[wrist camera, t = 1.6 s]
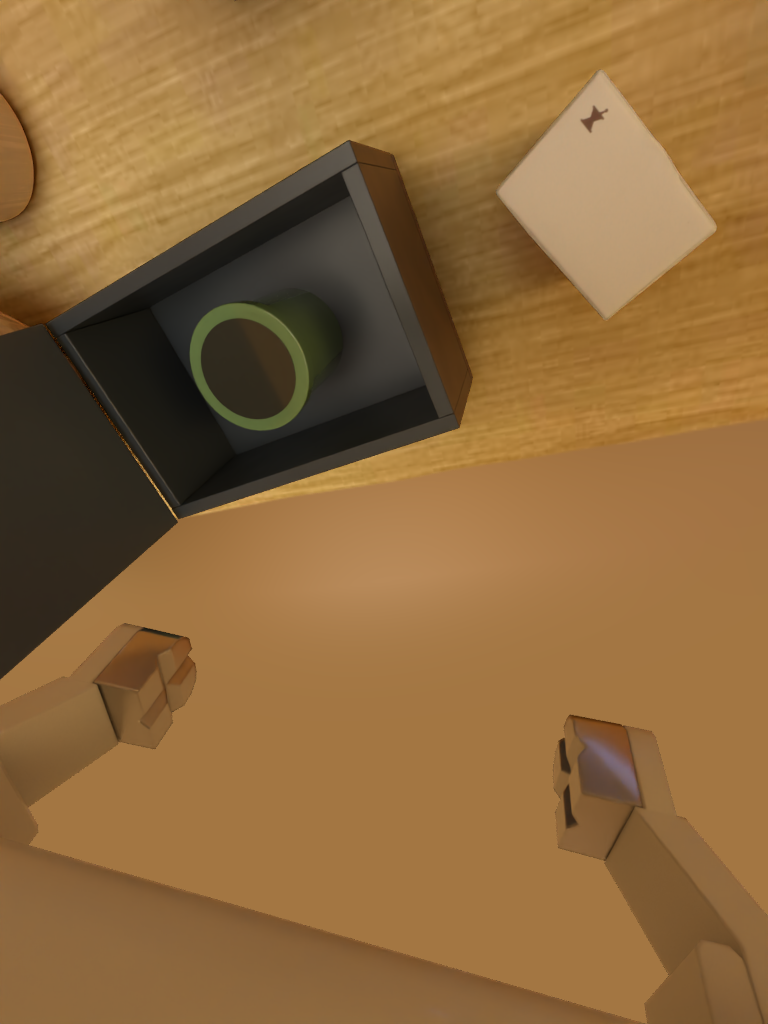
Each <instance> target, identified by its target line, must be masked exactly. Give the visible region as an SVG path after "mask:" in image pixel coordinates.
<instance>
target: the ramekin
mask: <svg viewBox="0 0 768 1024" xmlns="http://www.w3.org/2000/svg"><path fill="white" fill-rule="evenodd" d="M33 183H34V168H33V160H32V155H31V151H30V148H29V144H28V141H27V138H26V135H25V133H24V131H23V128H22V126H21V124H20V122H19V120H18V118H17V116H16V115H15V113H14V111H13V110H12V108H11V107H10V105H9V104H8V102H7V101H6V100H5V99H4V97H3V96H2V95H1V94H0V222H3V221H7V220H10V219H12V218H14V217H16V216H18V215H19V214H20V213H21V212H22V211H23V210H24V209H25V208H26V206H27V205H28V203H29V200H30V198H31V195H32V190H33Z"/></svg>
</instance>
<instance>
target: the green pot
mask: <svg viewBox="0 0 768 1024" xmlns="http://www.w3.org/2000/svg"><path fill="white" fill-rule="evenodd" d="M342 351H343V338H342V332H341V328H340V325H339V323H338V320H337V319H336V317H335V315H334V313H333V312H332V310H331V309H330V308H329V307H328V305H327V304H326V303H325V302H324V301H322V300H321V299H320V298H319V297H317V296H316V295H314V294H312V293H310V292H308V291H305V290H302V289H297V288H285V289H281V290H278V291H275V292H272V293H270V294H267V295H265V296H262V297H260V298H257V299H254V300H252V301H246V300H241V301H233V302H229V303H226V304H223V305H220V306H218V307H216V308H214V309H212V310H211V311H209V312H208V313H207V314H206V315H204V316H203V318H202V319H201V320H200V321H199V323H198V324H197V326H196V328H195V330H194V333H193V335H192V339H191V343H190V364H191V370H192V373H193V377H194V379H195V382H196V384H197V386H198V388H199V390H200V392H201V394H202V395H203V397H204V398H205V400H206V401H207V402H208V403H209V405H210V406H211V407H212V408H213V409H214V410H215V411H216V412H217V413H219V414H220V415H221V416H222V417H224V418H225V419H227V420H228V421H230V422H232V423H234V424H236V425H238V426H240V427H243V428H247V429H251V430H258V431H265V430H273V429H276V428H280V427H282V426H284V425H286V424H287V423H289V422H290V421H292V420H293V419H294V418H295V417H296V416H297V415H298V414H299V413H300V412H301V411H302V410H303V408H304V407H305V406H306V404H307V402H308V400H309V398H310V395H311V394H312V393H313V392H314V391H315V390H316V389H317V388H318V387H319V386H320V385H322V384H323V383H324V382H325V381H326V380H327V379H328V378H329V377H330V376H331V375H332V374H333V373H334V371H335V370H336V368H337V367H338V365H339V362H340V360H341V356H342Z"/></svg>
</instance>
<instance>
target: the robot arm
mask: <svg viewBox="0 0 768 1024" xmlns="http://www.w3.org/2000/svg"><path fill="white" fill-rule="evenodd" d="M191 649H192V647H191V644H190V640H189V638H187V637H183V636H179V635H175V634H170V633H166V632H161V631H157V630H153V629H148V628H145V627H140V626H135V625H130V624H126V623H124V624H122V625H120V626H118V627H116V628H115V629H114V630H113V631H112V632H111V634H110V635H109V636H108V637H107V638H106V639H105V640H104V641H103V642H102V643H101V644H100V645H99V646H98V647H97V648H96V649H95V650H94V651H93V653H92V654H91V655H90V656H89V657H88V658H87V659H86V660H85V661H84V662H83V663H82V664H81V665H80V666H79V667H78V669H77V670H76V671H75V672H74V673H73V674H72V675H71V676H70V677H69V678H66V677H61V678H59V679H56V680H54V681H52V682H50V683H48V684H46V685H44V686H42V687H40V688H37V689H35V690H33V691H31V692H29V693H27V694H25V695H23V696H20V697H18V698H16V699H14V700H12V701H10V702H7V703H6V704H3V705H1V706H0V1024H645V1023H641V1022H637V1021H634V1020H631V1019H627V1018H623V1017H620V1016H617V1015H613V1014H610V1013H606V1012H603V1011H600V1010H596V1009H593V1008H589V1007H586V1006H582V1005H579V1004H576V1003H572V1002H569V1001H565V1000H562V999H558V998H555V997H551V996H548V995H544V994H541V993H538V992H534V991H531V990H527V989H524V988H520V987H517V986H513V985H510V984H507V983H503V982H500V981H496V980H493V979H489V978H486V977H482V976H479V975H475V974H472V973H469V972H465V971H462V970H458V969H455V968H451V967H448V966H444V965H441V964H437V963H434V962H430V961H427V960H424V959H420V958H417V957H413V956H410V955H406V954H403V953H399V952H396V951H393V950H389V949H386V948H382V947H379V946H375V945H372V944H368V943H365V942H361V941H358V940H355V939H351V938H348V937H344V936H341V935H337V934H334V933H330V932H327V931H323V930H320V929H316V928H313V927H310V926H306V925H303V924H299V923H296V922H292V921H289V920H286V919H282V918H278V917H275V916H272V915H268V914H265V913H261V912H258V911H255V910H251V909H248V908H244V907H240V906H237V905H234V904H230V903H227V902H223V901H220V900H217V899H213V898H210V897H206V896H203V895H199V894H196V893H192V892H189V891H185V890H182V889H178V888H175V887H172V886H168V885H165V884H161V883H158V882H154V881H151V880H147V879H144V878H140V877H137V876H134V875H130V874H127V873H123V872H120V871H116V870H113V869H109V868H106V867H102V866H99V865H96V864H92V863H89V862H85V861H81V860H78V859H74V858H71V857H68V856H64V855H61V854H57V853H54V852H51V851H47V850H44V849H40V848H37V847H33V846H29V844H30V842H31V841H32V840H33V838H34V837H35V836H36V834H37V833H38V824H37V823H36V821H35V819H34V817H33V816H32V814H31V812H30V810H29V809H28V807H29V806H31V805H32V804H34V803H35V802H37V801H38V800H39V799H41V798H42V797H44V796H45V795H46V794H48V793H49V792H51V791H52V790H54V789H55V788H56V787H58V786H59V785H61V784H62V783H63V782H65V781H66V780H68V779H69V778H71V777H72V776H74V775H75V774H76V773H78V772H79V771H80V770H82V769H84V768H85V767H86V766H88V765H89V764H91V763H92V762H93V761H95V760H96V759H98V758H99V757H101V756H102V755H103V754H105V753H106V752H108V751H109V750H111V749H112V748H113V747H115V746H116V745H118V742H123V743H127V744H132V745H137V746H142V747H146V748H151V749H156V747H157V746H158V744H159V742H160V741H161V740H162V738H163V736H164V735H165V734H166V732H167V730H168V729H169V728H170V726H171V724H172V723H173V720H172V712H174V711H175V710H177V709H179V708H180V707H182V706H184V705H185V703H186V702H187V700H188V698H189V697H190V695H191V693H192V690H193V687H194V684H195V681H196V666H195V663H194V662H193V661H192V660H191V658H190V657H189V656H188V654H189V652H190V651H191ZM564 733H565V738H563V739H561V740H559V741H558V745H557V748H556V751H555V758H554V764H553V783H554V790H555V792H556V793H557V795H558V796H559V798H560V802H559V804H558V807H557V809H556V812H555V813H556V828H557V841H558V848H560V849H564V850H568V851H571V852H575V853H579V854H582V855H586V856H590V857H593V858H597V859H601V860H604V861H605V865H606V867H607V868H608V870H609V872H610V874H611V875H612V877H613V879H614V880H615V882H616V884H617V886H618V888H619V889H620V891H621V893H622V894H623V896H624V898H625V899H626V901H627V903H628V905H629V907H630V908H631V910H632V912H633V914H634V915H635V917H636V919H637V921H638V922H639V924H640V926H641V928H642V929H643V931H644V933H645V935H646V936H647V938H648V940H649V942H650V943H651V945H652V947H653V949H654V950H655V952H656V954H657V956H658V957H659V959H660V961H661V962H662V964H663V966H664V968H665V969H666V971H667V973H668V975H669V976H668V977H667V979H666V980H665V981H664V982H663V983H662V984H661V986H660V987H659V988H658V989H657V990H656V991H655V993H653V995H652V996H651V997H650V998H649V999H648V1000H647V1002H646V1003H645V1010H646V1017H647V1024H768V915H767V914H766V913H765V912H764V911H763V910H762V908H761V907H760V906H759V905H758V904H757V902H756V901H755V900H754V899H753V898H752V896H751V895H750V894H749V893H748V892H747V890H746V889H745V888H744V887H743V886H742V885H741V883H740V882H739V881H738V880H737V879H736V877H735V876H734V875H733V874H732V873H731V871H730V870H729V869H728V868H727V867H726V866H725V864H724V863H723V862H722V861H721V860H720V859H719V857H718V856H717V855H716V854H715V853H714V851H713V850H712V849H711V848H710V847H709V845H708V844H707V843H706V842H705V841H704V839H703V838H702V837H701V836H700V835H699V834H698V832H697V831H696V830H695V829H694V828H693V827H692V825H691V824H690V823H689V822H688V821H687V819H686V818H683V817H679V816H677V815H676V811H675V807H674V804H673V800H672V796H671V793H670V789H669V786H668V781H667V778H666V774H665V770H664V767H663V763H662V759H661V755H660V752H659V748H658V744H657V741H656V737H655V735H654V734H653V733H652V731H648V730H644V729H639V728H634V727H629V726H622V725H621V724H616V723H611V722H606V721H600V720H595V719H590V718H585V717H579V716H574V715H569V716H568V718H567V719H566V722H565V725H564Z"/></svg>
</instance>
